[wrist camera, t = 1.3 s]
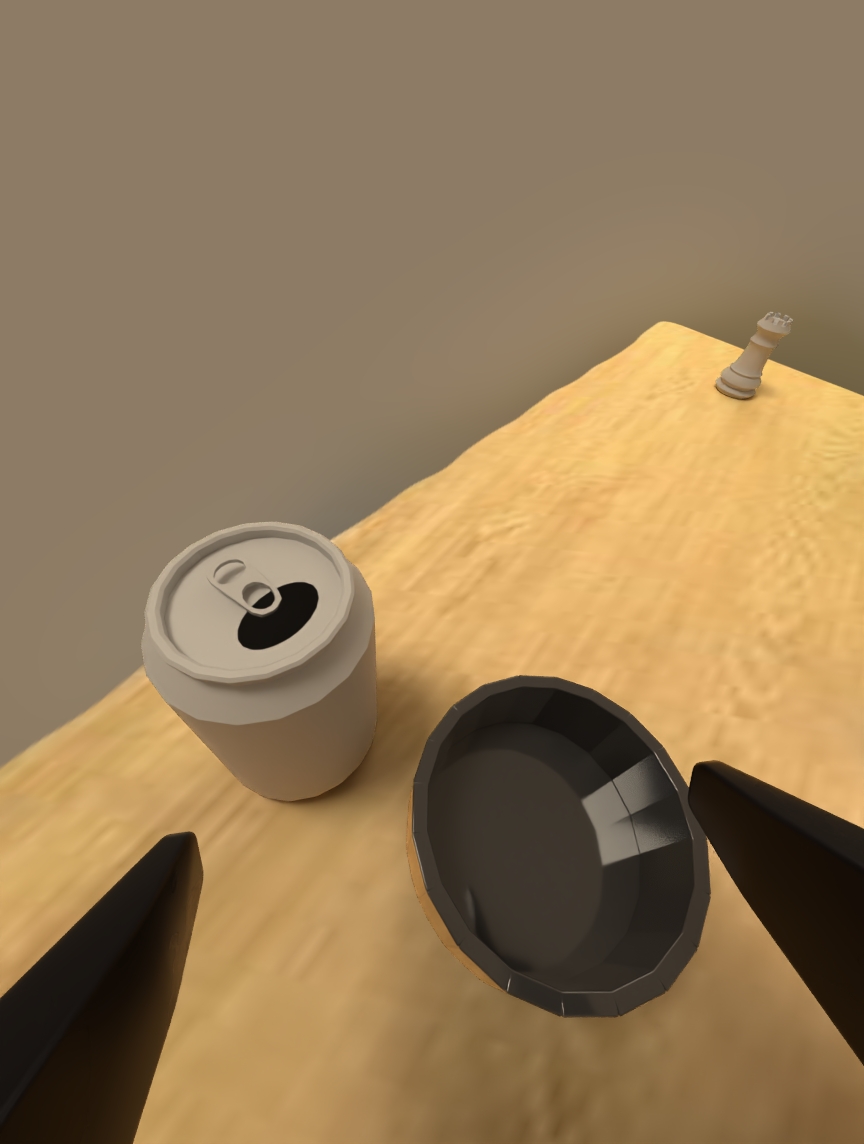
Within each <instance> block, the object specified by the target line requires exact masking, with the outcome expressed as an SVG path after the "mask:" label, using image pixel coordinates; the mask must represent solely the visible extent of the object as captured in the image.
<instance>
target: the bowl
mask: <svg viewBox="0 0 864 1144" xmlns="http://www.w3.org/2000/svg"><path fill="white" fill-rule="evenodd" d="M688 791H689V787H688V786H687V784H686V782H685V781H684V779H683V777H682V776H681V774H680V773H679V771H678V769H677V768H676V766H675V764H674V763H673V761H672V760H671V758H670V756H669V755H668V753H667V752H666V750H665V748H664V747H663V746H662V745H661V744H660V743H659V741H658V740H657V739H656V738H655V737H654V736H653V735H652V734H651V733H650V732H649V731H648V730H647V729H646V728H645V727H644V726H643V725H642V724H641V723H640V722H639V721H638V720H637V719H636V718H635V717H634V716H633V715H632V714H630V712H628V711H627V710H625V709H624V708H622V707H620V706H619V705H617V704H616V703H614V702H613V701H611V700H609V699H608V698H606V697H605V696H603V695H602V694H600V693H599V692H597V691H595V690H593V689H591V688H588V687H585V686H582V685H579V684H576V683H573V682H570V681H567V680H564V679H561V678H558V677H544V676H523V675H520V676H514V677H510V678H507V679H503V680H499V681H496V682H492V683H488V684H485V685H482V686H481V687H479V688H478V689H476V690H475V691H473V692H472V693H470V694H469V695H467V696H466V697H464V698H463V699H461V700H460V701H458V702H457V703H455V704H454V705H453V706H452V707H451V708H450V709H449V710H448V712H447V713H446V714H445V716H444V717H443V718H442V720H441V721H440V722H439V724H438V725H437V727H436V728H435V729H434V731H433V732H432V733H431V735H430V736H429V738H428V739H427V742H426V745H425V748H424V751H423V754H422V757H421V760H420V763H419V766H418V769H417V772H416V775H415V778H414V781H413V786H412V791H411V796H410V801H409V806H408V821H407V855H408V861H409V866H410V871H411V876H412V881H413V884H414V887H415V890H416V893H417V897H418V899H419V902H420V904H421V906H422V908H423V910H424V912H425V915H426V917H427V919H428V921H429V922H430V924H431V926H432V927H433V929H434V930H435V932H436V934H437V935H438V937H439V938H440V940H441V942H442V943H443V944H444V946H445V947H446V948H447V949H448V950H449V951H450V952H451V953H452V954H453V955H454V956H455V957H456V958H457V959H458V960H459V961H460V962H461V963H462V964H463V965H464V966H465V967H466V968H467V969H468V970H470V971H471V972H472V973H473V974H474V975H475V976H476V977H477V978H478V979H479V980H481V981H483V982H484V983H486V984H488V985H490V986H493V987H495V988H497V989H499V990H501V991H503V992H505V993H507V994H510V995H512V996H514V997H516V998H519V999H521V1000H523V1001H526V1002H528V1003H530V1004H532V1005H535V1006H537V1007H539V1008H541V1009H544V1010H546V1011H548V1012H551V1013H553V1014H555V1015H557V1016H562V1017H564V1018H580V1017H618V1016H623V1015H624V1014H626V1013H628V1012H630V1011H632V1010H634V1009H636V1008H638V1007H640V1006H642V1005H644V1004H645V1003H647V1002H649V1001H651V1000H653V999H655V998H657V997H659V996H661V995H663V994H665V992H666V991H668V990H669V989H670V987H671V986H672V985H673V983H674V982H675V980H676V979H677V978H678V976H679V975H680V973H681V972H682V971H683V969H684V968H685V967H686V965H687V964H688V962H689V961H690V960H691V958H692V957H693V955H694V954H695V953H696V951H697V948H698V946H699V943H700V938H701V934H702V930H703V926H704V922H705V918H706V914H707V910H708V906H709V902H710V894H711V889H710V874H709V859H708V845H707V838H706V835H705V833H704V831H703V830H702V828H701V826H700V825H699V823H698V821H697V820H696V818H695V816H694V815H693V813H692V811H691V809H690V807H689V804H688Z"/></svg>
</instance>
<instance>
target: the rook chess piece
mask: <svg viewBox="0 0 864 1144" xmlns="http://www.w3.org/2000/svg"><path fill="white" fill-rule="evenodd" d="M772 315H773V312H769V313H767V315H766V316H765V318H763V319H761V320H760V321H758V322H757V325H758V330H757V333H756V334H755V335H754V336H752V337H751V341H750V343H749V345H748V346H747V348H746V349H745V350H744V352H743V353H742V354H741V355H740V357H739V358H738V359H737V360H736V361H735V362H734V363H732V364H731V365H730V366H729V367H727V368H725V369H724V370H723V371H722V372H721V377H719V378H718V379H716V388H717V389H718V390H719V391H720V392H722V393H723V394H725V395H727V396H729V397H733V398H737V399H746V398H749V397H751V396H753V395H754V394H755V389H756V388H758V387H759V386H760V384H761V379H760V377H761V376H762V370H763V367H764V365H765V363H766V361H767V359H768V357H769V355H770V354H771V352H772V351H773V349H774V348H776V347H777V346H778V341H779V340H780V338H781V337H783V336H785V335H787V334H788V333H790V331H791V330H790V325H791V323H792V322H793V319H789V318H790V317H789V316H787V315H785V316H784V317H783V319H780V318H779V317H780V315H781V313H776V314H775V315H774V317H772ZM788 319H789V320H788Z"/></svg>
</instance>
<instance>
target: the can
mask: <svg viewBox="0 0 864 1144" xmlns="http://www.w3.org/2000/svg"><path fill="white" fill-rule="evenodd" d="M144 617H145V622H146V625H145V630H144V634H143V638H142V642H141V648H142V654H143V660H144V666H145V671H146V676H147V677H148V678H149V680H150V681H151V682H152V684H153V685H154V687H155V688H156V689H157V691H158V692H159V693H160V695H161V696H162V698H163V699H164V700H165V702H166V703H167V704H168V705H169V706H170V707H171V708H172V709H173V710H174V711H175V712H176V713H177V714H178V716H179V717H180V718H181V719H182V720H183V721H184V722H185V723H186V724H187V725H188V726H189V727H190V728H191V729H192V731H193V732H194V733H195V734H196V735H197V736H198V737H199V738H200V739H201V740H202V741H203V742H204V743H205V744H206V746H207V747H208V748H209V749H210V750H211V751H212V752H213V753H214V754H215V755H216V756H217V757H218V758H219V760H220V761H221V762H222V763H223V764H224V765H225V766H226V767H227V768H228V769H229V770H230V771H231V772H232V773H233V775H234V776H235V777H236V778H237V779H238V780H239V781H240V782H241V783H242V784H243V785H244V786H246V787H248V788H249V789H251V790H253V791H254V792H256V793H258V794H260V795H261V796H263V797H266V798H272V799H278V800H285V801H294V800H300V799H305V798H311V797H316V796H318V795H320V794H322V793H324V792H326V791H328V790H330V789H332V788H333V787H335V786H337V785H339V784H341V783H342V782H343V781H344V780H345V779H346V778H347V777H348V776H349V775H350V774H351V773H352V772H353V771H354V770H355V769H356V768H357V767H358V766H359V765H360V764H361V762H362V760H363V758H364V757H365V755H366V753H367V751H368V749H369V748H370V746H371V744H372V742H373V737H374V732H375V727H376V723H377V692H376V650H375V616H374V609H373V601H372V594H371V590H370V589H369V587H368V585H367V583H366V581H365V580H364V578H363V576H362V574H361V573H360V571H359V569H358V568H357V567H356V566H354V565H353V564H352V563H351V562H350V561H348V560H347V559H346V558H345V556H344V554H343V553H342V551H341V550H340V549H339V548H338V547H337V546H335V545H334V544H333V543H332V542H331V541H330V540H328V539H327V538H326V537H325V536H324V535H321V534H319V533H317V532H314V531H312V530H310V529H307V528H305V527H302V526H299V525H293V524H286V523H280V522H261V523H247V524H242V525H238V526H234V527H231V528H227V529H224V530H220V531H217V532H215V533H213V534H211V535H209V536H207V537H205V538H203V539H201V540H199V541H197V542H195V543H194V544H192V545H190V546H188V547H187V548H186V549H185V550H184V551H182V552H181V553H180V554H179V555H178V556H177V557H175V558H174V559H173V560H172V561H171V562H169V563H168V564H167V565H166V567H165V568H164V570H163V571H162V572H161V574H160V576H159V577H158V578H157V580H156V581H155V583H154V584H153V586H152V587H151V589H150V593H149V597H148V601H147V605H146V609H145V613H144Z"/></svg>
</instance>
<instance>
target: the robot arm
mask: <svg viewBox="0 0 864 1144" xmlns="http://www.w3.org/2000/svg"><path fill="white" fill-rule="evenodd" d="M688 804H689V807H690V809H691V811H692V813H693V815H694V816H695V818H696V820H697V821H698V823H699V825H700V826H701V828H702V830H703V831H704V833H705V835H706V836H707V838H708V839H709V841H710V843H711V844H712V846H713V848H714V849H715V851H716V853H717V854H718V856H719V858H720V859H721V861H722V863H723V864H724V866H725V868H726V869H727V871H728V873H729V874H730V876H731V878H732V879H733V881H734V882H735V884H736V886H737V887H738V889H739V890H740V892H741V894H742V895H743V897H744V898H745V900H746V901H747V902H748V904H749V905H750V907H751V908H752V910H753V911H754V913H755V914H756V915H757V917H758V918H759V920H760V921H761V922H762V924H763V925H764V927H765V928H766V929H767V931H768V932H769V934H770V935H771V936H772V938H773V939H774V941H775V942H776V943H777V945H778V946H779V948H780V949H781V950H782V952H783V953H784V955H785V956H786V958H787V959H788V960H789V962H790V963H791V965H792V966H793V967H794V969H795V970H796V972H797V973H798V974H799V976H800V977H801V979H802V980H803V981H804V983H805V984H806V986H807V987H808V988H809V990H810V991H811V993H812V994H813V995H814V997H815V998H816V1000H817V1001H818V1002H819V1004H820V1005H821V1007H822V1008H823V1009H824V1011H825V1012H826V1014H827V1015H828V1016H829V1018H830V1019H831V1021H832V1022H833V1023H834V1025H835V1026H836V1028H837V1029H838V1031H839V1032H840V1033H841V1035H842V1036H843V1038H844V1039H845V1040H846V1042H847V1043H848V1045H849V1046H850V1047H851V1049H852V1050H853V1052H854V1053H855V1054H856V1056H857V1057H858V1059H859V1060H860V1061H861V1063H862V1064H863V1066H864V829H863V828H861V827H859V826H857V825H855V824H852V823H850V822H848V821H846V820H844V819H842V818H840V817H837V816H835V815H833V814H831V813H829V812H827V811H825V810H823V809H820V808H818V807H816V806H814V805H812V804H810V803H808V802H806V801H803V800H801V799H799V798H797V797H795V796H793V795H791V794H789V793H786V792H784V791H782V790H780V789H778V788H776V787H774V786H772V785H769V784H767V783H765V782H763V781H761V780H759V779H757V778H755V777H752V776H750V775H748V774H746V773H744V772H742V771H740V770H737V769H735V768H733V767H731V766H729V765H727V764H725V763H723V762H720V761H716V760H712V761H705V762H699V763H696V765H695V766H694V768H693V771H692V776H691V781H690V786H689V791H688ZM202 884H203V866H202V862H201V857H200V852H199V847H198V843H197V838H196V836H195V834H194V833H193V832H183V833H175V834H169V835H166V836H165V837H163V838H162V839H161V840H160V841H159V842H158V843H157V844H156V845H155V846H154V847H153V848H152V849H151V850H150V851H149V852H148V853H147V854H146V855H145V856H144V857H143V858H142V859H141V860H140V861H139V862H138V863H137V864H136V865H135V866H134V867H132V868H131V869H130V870H129V871H128V872H127V873H126V874H125V875H124V876H123V877H122V878H121V879H120V880H119V881H118V882H117V883H116V884H115V885H114V886H113V887H112V888H111V889H110V890H109V891H108V892H107V893H106V894H105V895H104V896H103V897H102V898H101V899H100V900H99V901H98V902H97V903H96V904H95V905H94V906H93V907H92V908H91V909H90V910H89V911H88V912H87V913H86V914H85V915H84V916H83V917H82V918H81V919H80V920H79V921H78V922H77V923H76V924H75V925H74V926H73V927H72V928H71V929H70V930H69V931H68V932H67V933H66V934H65V935H64V936H63V937H62V938H61V939H60V940H59V941H58V942H57V943H56V944H55V945H54V946H53V947H52V948H51V949H50V950H49V951H48V952H47V953H46V954H45V955H44V956H43V957H42V958H41V959H40V960H39V961H38V962H37V963H36V964H35V965H34V966H33V967H32V968H31V969H30V970H28V971H27V972H26V973H25V974H24V975H23V976H22V977H21V978H20V979H19V980H18V981H17V982H16V983H15V984H14V985H13V986H12V987H11V988H10V989H9V990H8V991H7V992H6V993H5V994H4V995H3V996H2V997H1V998H0V1144H133V1141H134V1138H135V1135H136V1132H137V1128H138V1125H139V1122H140V1119H141V1116H142V1112H143V1109H144V1106H145V1103H146V1100H147V1096H148V1093H149V1090H150V1087H151V1084H152V1080H153V1077H154V1074H155V1071H156V1068H157V1064H158V1061H159V1058H160V1055H161V1052H162V1048H163V1045H164V1042H165V1039H166V1036H167V1032H168V1029H169V1026H170V1023H171V1019H172V1016H173V1012H174V1009H175V1005H176V1002H177V997H178V993H179V989H180V985H181V980H182V976H183V971H184V967H185V962H186V958H187V953H188V949H189V944H190V939H191V935H192V930H193V926H194V921H195V917H196V912H197V907H198V903H199V898H200V894H201V889H202Z"/></svg>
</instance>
